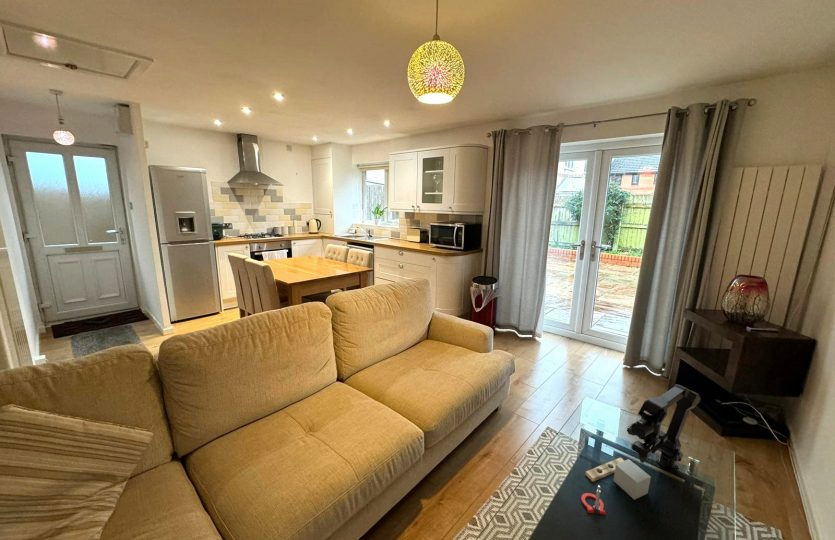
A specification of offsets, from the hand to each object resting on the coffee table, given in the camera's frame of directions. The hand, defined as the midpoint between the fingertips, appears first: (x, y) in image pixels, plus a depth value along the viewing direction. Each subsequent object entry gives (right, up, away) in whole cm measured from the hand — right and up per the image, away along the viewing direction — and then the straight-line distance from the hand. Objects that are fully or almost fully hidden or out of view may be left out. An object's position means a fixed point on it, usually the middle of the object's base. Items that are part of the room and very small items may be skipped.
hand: (647, 457), depth 144 cm
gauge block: (-8, -13, 0) cm, 15 cm away
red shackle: (-28, -15, -8) cm, 33 cm away
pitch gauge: (-13, -11, +8) cm, 19 cm away
